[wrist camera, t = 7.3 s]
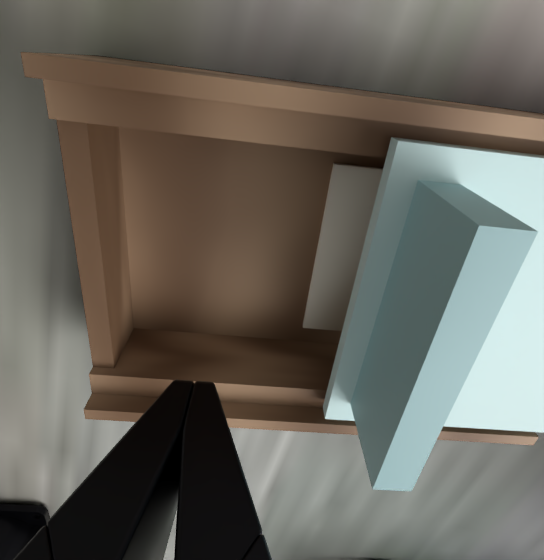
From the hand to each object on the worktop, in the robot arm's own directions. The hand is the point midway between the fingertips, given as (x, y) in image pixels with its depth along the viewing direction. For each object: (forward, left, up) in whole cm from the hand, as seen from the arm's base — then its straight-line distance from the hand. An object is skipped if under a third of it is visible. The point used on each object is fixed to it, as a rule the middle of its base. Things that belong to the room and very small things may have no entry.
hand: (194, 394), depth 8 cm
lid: (+13, 0, -5) cm, 14 cm away
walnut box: (+4, 0, -9) cm, 10 cm away
